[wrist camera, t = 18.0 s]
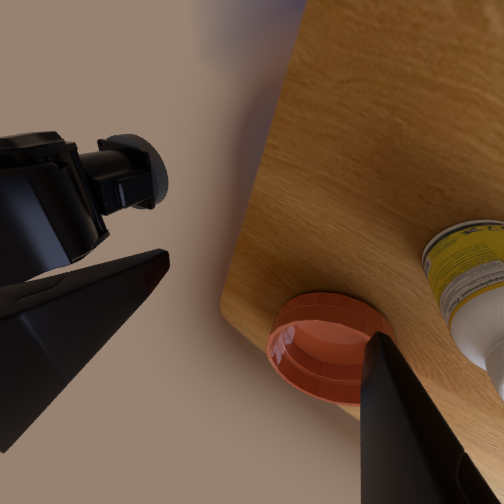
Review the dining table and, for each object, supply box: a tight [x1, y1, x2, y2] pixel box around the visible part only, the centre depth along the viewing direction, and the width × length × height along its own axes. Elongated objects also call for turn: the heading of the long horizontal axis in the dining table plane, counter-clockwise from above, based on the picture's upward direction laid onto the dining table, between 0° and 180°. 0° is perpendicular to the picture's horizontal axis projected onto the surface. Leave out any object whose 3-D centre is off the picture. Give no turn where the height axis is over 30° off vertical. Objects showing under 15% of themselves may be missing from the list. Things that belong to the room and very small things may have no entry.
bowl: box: [266, 292, 397, 407], centre depth 25 cm, size 13×13×4 cm
